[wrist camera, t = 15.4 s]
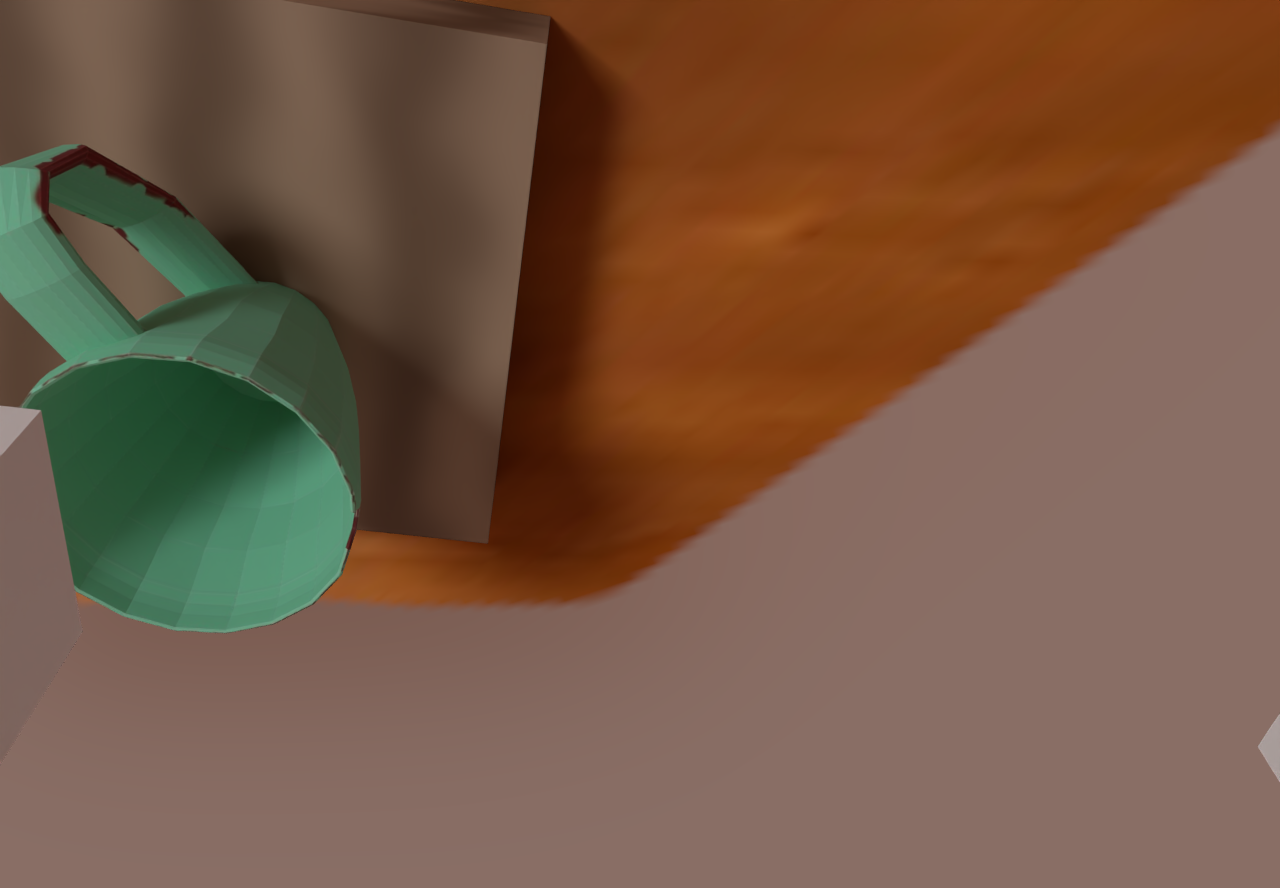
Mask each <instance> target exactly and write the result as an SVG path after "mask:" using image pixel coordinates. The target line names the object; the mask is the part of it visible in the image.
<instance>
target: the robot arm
mask: <svg viewBox="0 0 1280 888" xmlns="http://www.w3.org/2000/svg"><path fill="white" fill-rule="evenodd" d="M82 632H83V631H82V626H81V620H80V615H79V609H78V604H77V599H76V593H75V588H74V583H73V577H72V572H71V567H70V561H69V556H68V551H67V545H66V540H65V535H64V530H63V524H62V519H61V514H60V508H59V503H58V498H57V492H56V487H55V482H54V476H53V471H52V466H51V460H50V455H49V450H48V444H47V439H46V434H45V428H44V423H43V418H42V412H41V410H35V409H26V408H17V407H8V406H0V764H1V763H2V761H3V760H4V758H5V756H6V755H7V753H8V751H9V750H10V748H11V747H12V745H13V743H14V742H15V740H16V739H17V737H18V735H19V733H20V732H21V730H22V729H23V727H24V725H25V724H26V722H27V721H28V719H29V718H30V716H31V714H32V713H33V711H34V709H35V708H36V706H37V705H38V703H39V701H40V700H41V698H42V696H43V695H44V693H45V692H46V690H47V688H48V687H49V685H50V684H51V682H52V680H53V678H54V677H55V675H56V674H57V672H58V671H59V669H60V667H61V666H62V664H63V663H64V661H65V659H66V658H67V656H68V654H69V653H70V651H71V650H72V648H73V646H74V645H75V643H76V642H77V640H78V638H79V637H80V635H81V633H82ZM1258 748H1259V749H1260V751H1261V753H1262V754H1263V756H1264V758H1265V759H1266V761H1267V762H1268V764H1269V766H1270V767H1271V769H1272V770H1273V772H1274V774H1275V775H1276V777H1277V778H1278V780H1279V782H1280V714H1279V715H1278V717H1277V718H1276V720H1275V721H1274V723H1273V724H1272V726H1271V727H1270V729H1269V730H1268V732H1267V733H1266V735H1265V736H1264V738H1263V739H1262V741H1261V742H1260V744H1259V746H1258Z"/></svg>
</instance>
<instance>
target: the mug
mask: <svg viewBox="0 0 1280 888" xmlns="http://www.w3.org/2000/svg"><path fill="white" fill-rule="evenodd" d="M49 203H52V204H54V205H57V206H59V207H62V208H64V209H67V210H69V211H72V212H74V213H77V214H79V215H82V216H84V217H87V218H89V219H92V220H94V221H97V222H99V223H102V224H104V225H107V226H109V227H112V228H113V229H114V230H115V231H116V232H117V233H118V234H119V235H120V236H122V237H123V238H124V239H125V240H126V241H127V242H128V243H129V244H130V245H131V246H132V247H133V248H134V249H135V250H137V251H138V252H139V253H140V254H141V255H142V256H143V257H144V258H145V259H146V260H147V261H148V262H149V263H150V264H152V265H153V266H154V267H155V268H156V269H157V270H158V271H159V272H160V273H161V274H162V275H163V276H164V277H165V278H167V279H168V280H169V281H170V282H171V283H172V284H173V285H174V286H175V287H176V288H177V289H178V290H179V291H181V292H182V293H183V294H184V295H185V297H183V298H180V299H177V300H175V301H172V302H169V303H167V304H164V305H161V306H159V307H158V308H156V309H154V310H153V311H151V312H150V313H148V314H146V315H145V316H143V317H141V318H140V319H138V320H136V319H135V318H134V317H133V315H132V314H131V313H130V312H129V311H128V310H127V309H126V308H125V307H124V306H123V304H122V303H121V302H120V301H119V300H118V299H117V298H116V297H115V296H114V294H113V293H112V292H111V291H110V290H109V289H108V288H107V287H106V286H105V285H104V283H103V282H102V281H101V280H100V279H99V278H98V277H97V276H96V275H95V273H94V272H93V271H92V270H91V269H90V268H89V267H88V266H87V265H86V263H85V262H84V261H83V259H82V258H81V257H80V255H79V254H78V253H77V251H76V250H75V248H74V247H73V246H72V244H71V243H70V241H69V240H68V239H67V237H66V236H65V235H64V233H63V232H62V230H61V229H60V228H59V226H58V225H57V223H56V222H55V221H54V219H53V218H52V217H51V215H50V214H49ZM0 293H1V294H2V295H3V297H4V298H5V299H6V300H7V301H8V302H9V303H10V304H11V305H12V306H13V307H14V308H15V309H16V310H17V311H18V312H19V313H20V314H21V315H22V316H23V317H24V318H25V319H26V320H27V321H28V323H29V324H30V325H31V326H32V327H33V328H34V329H35V330H36V331H37V332H38V333H39V334H40V335H41V336H42V337H43V338H44V339H45V340H46V341H47V342H48V343H49V344H50V345H51V346H52V347H53V348H54V349H55V350H56V351H57V352H58V353H59V354H60V355H61V356H62V357H63V358H64V359H65V360H66V362H65V363H63V364H62V365H60V366H58V367H57V368H55V369H53V370H52V371H50V372H49V373H48V374H46V375H45V376H44V377H43V378H42V379H40V380H39V382H38V383H37V384H36V385H35V386H34V387H33V389H32V390H31V391H30V392H29V394H28V395H27V397H26V398H25V400H24V401H23V402H22V404H21V405H20V407H19V408H26V409H35V410H41V412H42V418H43V423H44V428H45V434H46V439H47V444H48V450H49V455H50V460H51V466H52V471H53V476H54V482H55V487H56V492H57V498H58V503H59V508H60V514H61V519H62V524H63V530H64V535H65V540H66V545H67V551H68V556H69V561H70V567H71V572H72V577H73V583H74V588H75V591H76V592H78V593H80V594H82V595H84V596H85V597H87V598H89V599H91V600H93V601H95V602H97V603H99V604H101V605H103V606H105V607H107V608H108V609H111V610H112V611H114V612H116V613H118V614H120V615H122V616H124V617H127V618H131V619H135V620H138V621H142V622H146V623H149V624H153V625H157V626H160V627H164V628H168V629H171V630H175V631H195V632H214V633H230V632H236V631H241V630H246V629H252V628H256V627H262V626H267V625H273V624H275V623H277V622H279V621H281V620H283V619H285V618H287V617H289V616H291V615H293V614H295V613H297V612H299V611H301V610H303V609H305V608H307V607H309V606H311V605H313V604H314V603H315V602H316V601H317V600H318V599H319V598H320V597H321V596H322V595H323V594H324V593H325V592H326V591H327V590H328V589H329V588H330V587H331V586H332V585H333V584H334V582H335V581H336V580H337V579H338V578H339V577H340V576H341V575H342V573H343V570H344V567H345V564H346V561H347V558H348V555H349V552H350V549H351V546H352V542H353V539H354V536H355V533H356V530H357V525H358V519H359V511H360V504H361V473H360V445H359V426H358V416H357V406H356V399H355V395H354V391H353V387H352V382H351V378H350V374H349V370H348V367H347V364H346V362H345V359H344V357H343V354H342V352H341V350H340V347H339V345H338V342H337V340H336V338H335V335H334V333H333V331H332V328H331V326H330V323H329V321H328V319H327V318H326V317H325V316H324V314H323V313H322V312H321V311H320V309H319V308H318V307H317V306H316V305H315V303H313V302H312V301H310V300H309V299H308V298H306V297H305V296H303V295H302V294H300V293H299V292H298V291H296V290H294V289H291V288H288V287H285V286H282V285H280V284H277V283H273V282H261V281H256V280H255V279H254V278H253V277H252V276H251V275H250V274H249V273H248V272H247V271H246V270H245V269H244V268H243V267H242V266H241V265H240V264H239V262H238V261H237V260H236V259H235V258H234V257H233V256H232V255H231V254H230V253H229V252H228V251H227V250H226V249H225V248H224V247H223V246H222V245H221V244H220V242H219V241H218V240H217V239H216V238H215V237H214V236H213V235H212V234H211V233H210V232H209V231H208V230H207V229H206V228H205V227H204V226H203V225H202V224H201V223H200V221H199V220H198V219H197V218H196V217H195V216H194V215H193V214H192V213H191V212H190V211H189V210H188V209H187V208H186V207H185V206H184V205H183V204H182V203H181V202H180V200H179V199H178V198H177V197H175V196H174V195H172V194H170V193H168V192H167V191H165V190H163V189H161V188H160V187H158V186H156V185H154V184H153V183H151V182H149V181H147V180H146V179H144V178H142V177H140V176H139V175H137V174H135V173H133V172H131V171H130V170H128V169H126V168H124V167H123V166H121V165H119V164H117V163H116V162H114V161H112V160H110V159H109V158H107V157H105V156H103V155H102V154H100V153H98V152H96V151H95V150H93V149H91V148H89V147H88V146H85V145H82V144H70V145H61V146H58V147H55V148H52V149H49V150H46V151H43V152H40V153H38V154H35V155H32V156H29V157H26V158H23V159H20V160H17V161H14V162H11V163H8V164H5V165H2V166H0Z"/></svg>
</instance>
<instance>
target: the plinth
mask: <svg viewBox="0 0 1280 888" xmlns="http://www.w3.org/2000/svg"><path fill="white" fill-rule="evenodd" d="M549 26H550V16H545V15H539V14H533V13H527V12H521V11H515V10H509V9H503V8H497V7H491V6H485V5H479V4H473V3H467V2H461V1H456V0H0V166H2V165H5V164H8V163H11V162H14V161H17V160H20V159H23V158H26V157H29V156H32V155H35V154H38V153H40V152H43V151H46V150H49V149H52V148H55V147H58V146H61V145H70V144H82V145H85V146H88V147H89V148H91V149H93V150H95V151H96V152H98V153H100V154H102V155H103V156H105V157H107V158H109V159H110V160H112V161H114V162H116V163H117V164H119V165H121V166H123V167H124V168H126V169H128V170H130V171H131V172H133V173H135V174H137V175H139V176H140V177H142V178H144V179H146V180H147V181H149V182H151V183H153V184H154V185H156V186H158V187H160V188H161V189H163V190H165V191H167V192H168V193H170V194H172V195H174V196H175V197H177V198H178V199H179V200H180V202H181V203H182V204H183V205H184V206H185V207H186V208H187V209H188V210H189V211H190V212H191V213H192V214H193V215H194V216H195V217H196V218H197V219H198V220H199V221H200V223H201V224H202V225H203V226H204V227H205V228H206V229H207V230H208V231H209V232H210V233H211V234H212V235H213V236H214V237H215V238H216V239H217V240H218V241H219V242H220V244H221V245H222V246H223V247H224V248H225V249H226V250H227V251H228V252H229V253H230V254H231V255H232V256H233V257H234V258H235V259H236V260H237V261H238V262H239V264H240V265H241V266H242V267H243V268H244V269H245V270H246V271H247V272H248V273H249V274H250V275H251V276H252V277H253V278H254V279H255V280H256V281H261V282H273V283H277V284H280V285H282V286H285V287H288V288H291V289H294V290H296V291H298V292H299V293H300V294H302V295H303V296H305V297H306V298H308V299H309V300H310V301H312V302H313V303H315V305H316V306H317V307H318V308H319V309H320V311H321V312H322V313H323V314H324V316H325V317H326V318H327V319H328V321H329V323H330V326H331V328H332V331H333V333H334V335H335V338H336V340H337V342H338V345H339V347H340V350H341V352H342V354H343V357H344V359H345V362H346V364H347V367H348V370H349V374H350V378H351V382H352V387H353V391H354V395H355V399H356V406H357V416H358V426H359V445H360V473H361V504H360V511H359V519H358V525H357V530H366V531H375V532H385V533H394V534H403V535H413V536H422V537H431V538H441V539H450V540H459V541H469V542H478V543H487V544H488V538H489V530H490V522H491V514H492V506H493V498H494V490H495V482H496V473H497V465H498V456H499V448H500V440H501V431H502V423H503V414H504V406H505V397H506V389H507V380H508V372H509V364H510V355H511V347H512V338H513V330H514V321H515V313H516V304H517V296H518V288H519V279H520V271H521V262H522V254H523V245H524V237H525V228H526V220H527V212H528V203H529V195H530V186H531V178H532V169H533V161H534V152H535V144H536V136H537V127H538V119H539V110H540V102H541V93H542V85H543V76H544V68H545V60H546V51H547V43H548V34H549ZM49 214H50V215H51V217H52V218H53V219H54V221H55V222H56V223H57V225H58V226H59V228H60V229H61V230H62V232H63V233H64V235H65V236H66V237H67V239H68V240H69V241H70V243H71V244H72V246H73V247H74V248H75V250H76V251H77V253H78V254H79V255H80V257H81V258H82V259H83V261H84V262H85V263H86V265H87V266H88V267H89V268H90V269H91V270H92V271H93V272H94V273H95V275H96V276H97V277H98V278H99V279H100V280H101V281H102V282H103V283H104V285H105V286H106V287H107V288H108V289H109V290H110V291H111V292H112V293H113V294H114V296H115V297H116V298H117V299H118V300H119V301H120V302H121V303H122V304H123V306H124V307H125V308H126V309H127V310H128V311H129V312H130V313H131V314H132V315H133V317H134V318H135V319H136V320H138V319H140V318H141V317H143V316H145V315H146V314H148V313H150V312H151V311H153V310H154V309H156V308H158V307H159V306H161V305H164V304H167V303H169V302H172V301H175V300H177V299H180V298H183V297H185V295H184V294H183V293H182V292H181V291H179V290H178V289H177V288H176V287H175V286H174V285H173V284H172V283H171V282H170V281H169V280H168V279H167V278H165V277H164V276H163V275H162V274H161V273H160V272H159V271H158V270H157V269H156V268H155V267H154V266H153V265H152V264H150V263H149V262H148V261H147V260H146V259H145V258H144V257H143V256H142V255H141V254H140V253H139V252H138V251H137V250H135V249H134V248H133V247H132V246H131V245H130V244H129V243H128V242H127V241H126V240H125V239H124V238H123V237H122V236H120V235H119V234H118V233H117V232H116V231H115V230H114V229H113V228H112V227H109V226H107V225H104V224H102V223H99V222H97V221H94V220H92V219H89V218H87V217H84V216H82V215H79V214H77V213H74V212H72V211H69V210H67V209H64V208H62V207H59V206H57V205H54V204H52V203H49ZM65 362H66V360H65V359H64V358H63V357H62V356H61V355H60V354H59V353H58V352H57V351H56V350H55V349H54V348H53V347H52V346H51V345H50V344H49V343H48V342H47V341H46V340H45V339H44V338H43V337H42V336H41V335H40V334H39V333H38V332H37V331H36V330H35V329H34V328H33V327H32V326H31V325H30V324H29V323H28V321H27V320H26V319H25V318H24V317H23V316H22V315H21V314H20V313H19V312H18V311H17V310H16V309H15V308H14V307H13V306H12V305H11V304H10V303H9V302H8V301H7V300H6V299H5V298H4V297H3V295H2V294H1V293H0V406H8V407H17V408H19V407H20V405H21V404H22V402H23V401H24V400H25V398H26V397H27V395H28V394H29V392H30V391H31V390H32V389H33V387H34V386H35V385H36V384H37V383H38V382H39V380H40V379H42V378H43V377H44V376H45V375H46V374H48V373H49V372H50V371H52V370H53V369H55V368H57V367H58V366H60V365H62V364H63V363H65Z"/></svg>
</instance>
